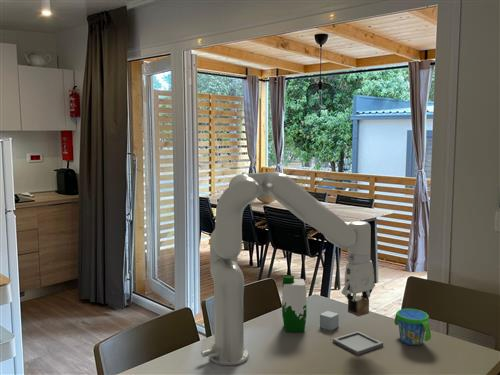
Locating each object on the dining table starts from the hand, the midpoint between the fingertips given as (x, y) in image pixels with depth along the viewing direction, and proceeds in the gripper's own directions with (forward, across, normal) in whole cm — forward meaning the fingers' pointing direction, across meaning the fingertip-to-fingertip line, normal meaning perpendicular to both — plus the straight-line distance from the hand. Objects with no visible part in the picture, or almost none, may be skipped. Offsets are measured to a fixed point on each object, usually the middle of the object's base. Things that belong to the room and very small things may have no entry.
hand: (358, 309), depth 166 cm
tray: (+13, 0, 0) cm, 13 cm away
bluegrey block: (+13, +2, +17) cm, 21 cm away
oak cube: (+1, 0, 0) cm, 1 cm away
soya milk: (+13, -10, +23) cm, 28 cm away
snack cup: (+13, +17, -9) cm, 23 cm away
